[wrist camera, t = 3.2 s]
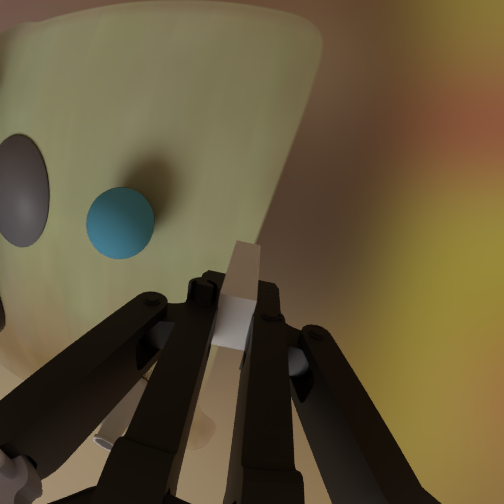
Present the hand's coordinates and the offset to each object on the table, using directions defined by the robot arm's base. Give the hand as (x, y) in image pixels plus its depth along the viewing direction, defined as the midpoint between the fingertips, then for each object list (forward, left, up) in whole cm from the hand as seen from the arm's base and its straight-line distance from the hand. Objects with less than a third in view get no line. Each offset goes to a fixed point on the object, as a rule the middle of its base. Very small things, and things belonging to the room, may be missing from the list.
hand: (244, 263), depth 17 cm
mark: (-27, 0, -5) cm, 27 cm away
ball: (-10, 0, -3) cm, 10 cm away
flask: (-11, -23, -6) cm, 26 cm away
